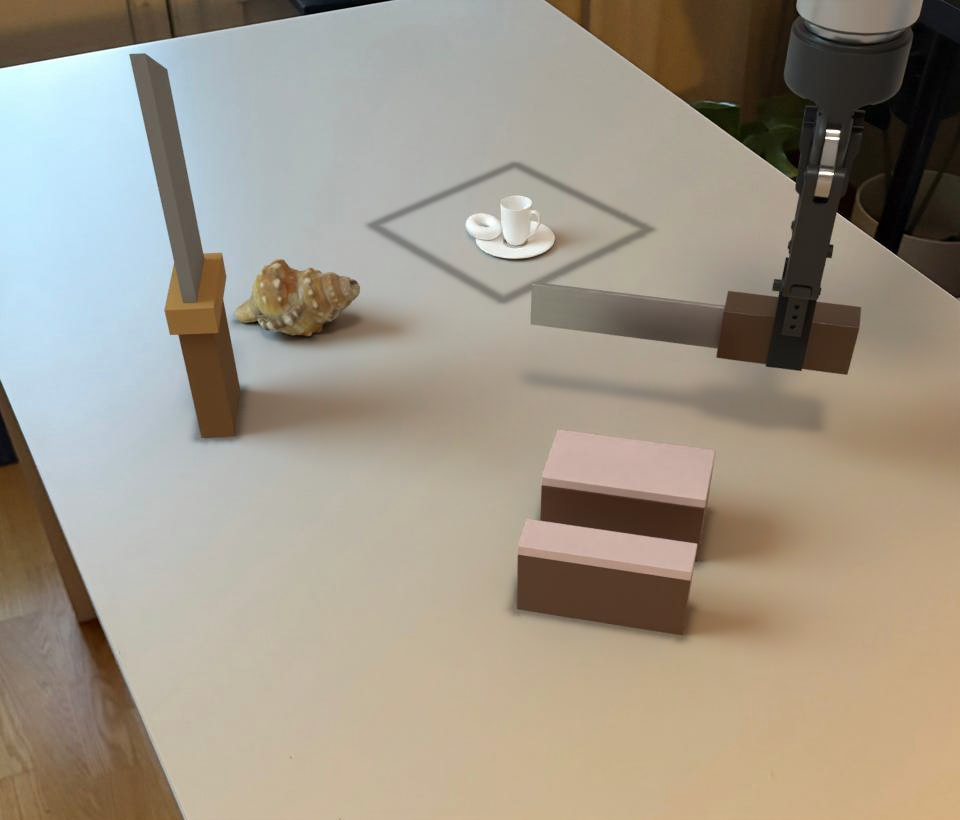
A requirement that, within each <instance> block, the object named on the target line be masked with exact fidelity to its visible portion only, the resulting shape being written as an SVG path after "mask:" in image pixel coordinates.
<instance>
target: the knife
mask: <svg viewBox="0 0 960 820" xmlns="http://www.w3.org/2000/svg"><path fill="white" fill-rule="evenodd" d="M128 56H129V59H130V63H131V69H132V73H133V78H134V82H135V87H136V93H137V97H138V103H139V106H140V112H141V115H142V120H143V125H144V129H145V134H146V139H147V142H148V148H149V153H150V157H151V162H152V167H153V171H154V175H155V179H156V180H155V181H156V185H157V190H158V193H159V199H160V203H161V209H162V212H163V217H164V222H165V226H166V230H167V237H168V240H169V244H170V250H171V254H172V258H173V266H172V270H171V276H170V281H169V286H168V290H167V295H166V300H165V305H164V308H163V309H164V315H165V319H166V324H167V326H168V328H167V329H168V333H169V335H170V336H178V340H179V344H180V348H181V353H182V358H183V362H184V366H185V371H186V376H187V379H188V384H189V388H190V389H189V390H190V392H191V398H192V402H193V406H194V411H195V415H196V420H197V424H198V429H199V433H200V438H201V439H210V438H212V439H213V438H232V437H234V438H235V437H236V431H237V422H238V413H239V405H240V397H241V385H240V381H239V374H238V370H237V365H236V359H235V354H234V353H235V352H234V348H233V344H232V339H231V333H230V328H229V322H228V318H227V312H226V307H225V301H224V297H225V291H226V283H227V271H226V268H225V267H226V266H225V262H224V255H223V252H207V253H205V252H204V250H203V249H204V248H203V245H202V240H201V239H202V238H201V234H200V230H199V229H200V228H199V225H198V224H199V223H198V218H197V214H196V209H195V204H194V199H193V194H192V190H191V183H190V178H189V174H188V173H189V172H188V168H187V164H186V157H185V153H184V147H183V143H182V138H181V132H180V127H179V123H178V122H179V121H178V117H177V113H176V107H175V106H176V105H175V102H174V97H173V91H172V87H171V81H170V76H169V72H168V68H166V67H165V66H164V65H163V64H161V63H160V62H158V61H157V60H155V59H153V58H152V57H151V56H149V55H148V54H147V53H145V52H144V53H143V52H141V53H139V52H138V53H129V54H128Z"/></svg>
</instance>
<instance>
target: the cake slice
mask: <svg viewBox="0 0 960 820" xmlns="http://www.w3.org/2000/svg"><path fill="white" fill-rule="evenodd" d="M518 540H519V541H518V544H517V559H516V560H517V565H516V567H517V569H516V570H517V571H516V577H517V578H516V581H517V582H516V609H517V610H520V611H527V612H533V613H537V614H538V613H539V614H545V615H552V616H559V617H563V618H570V619H575V620H576V619H577V620H583V621H590V622H594V623H595V622H596V623H602V624H608V625H613V626H614V625H615V626H620V627H627V628H633V629H639V630H647V631H652V632H657V633H665V634H669V635H670V634H671V635H678V636H682V635H683V632H684V627H685V623H686V619H687V618H686V617H687V612H688V607H689V601H690V596H691V595H690V594H691V587H692V582H693V576H694V569H695V564H696V562H695V557H696V551H697V544H695V543H688V542H682V541H675V540H668V539H661V538H654V537H647V536H641V535H634V534H627V533H620V532H613V531H606V530H600V529H593V528H586V527H579V526H572V525H565V524H559V523H552V522H545V521H540V520H538V519H531V518H527V519H526V520H525V523H524V526H523V529H522V532H521V535H520V538H519V539H518Z"/></svg>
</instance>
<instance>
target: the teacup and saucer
mask: <svg viewBox="0 0 960 820" xmlns="http://www.w3.org/2000/svg"><path fill="white" fill-rule="evenodd" d="M532 215H535V216H536V217H537V221H535V220H532ZM542 220H543V217H542V214H541V213H540V212H539V211H538V210H536V209H533V200H531V199H530V197H526V196H523V195H509V196H506V197H504V198H502V199H501V201H500V219H498V218H497V217H496V216H494V215H492V214H489V213H483V212H481V213H480V212H479V213H474V214H472V215H470V216H468V217H467V218H466V221H465V228H466V231H467V232H468V234H469V235H471V236H472V237H473V238H474V239H475V243H476V245H477V247H478V248H479V249H480V250H481V251H483V252H484V253H487V254H489V255H491V256H494V257H497V258H502V259H509V260H510V259H513V260H514V259H515V260H517V259H518V260H519V259H529V258H532V257H533V258H534V257H536V256H539V255H542V254H544V253H546V252H547V251H549V250H550V249H551V248H552V247H553V246H554V244H555V241H556V237H555V234H554V233H555V232H553V230H552V229H551V228H550V227H548V226H547V225H545V224H543V223H542ZM504 241H506V243H507V244H508V245H510V246H513V247H514V246H516V247H515V248H513V247H509V246H506V245H505V244H504ZM525 243H526V244H525ZM524 244H525V245H524ZM522 245H524V246H522ZM517 246H518V247H517ZM519 246H521V247H519Z"/></svg>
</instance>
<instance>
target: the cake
mask: <svg viewBox="0 0 960 820" xmlns="http://www.w3.org/2000/svg"><path fill="white" fill-rule="evenodd" d="M716 451H717V450H715V449H709V448H703V447H702V448H701V447H692V446H685V445H677V444H670V443H664V442H663V443H662V442H656V441H648V440H642V439H641V440H640V439H634V438H625V437H619V436H610V435H603V434H597V433H588V432H581V431H575V430H568V429H557V430H556V434H555V436H554V439H553V443H552V445H551V448H550V450H549V454H548V456H547V460H546V463H545V465H544V469H543V471H542V475H541V482H540V483H541V485H540V486H541V487H540V512H539V513H540V517H539V518H540V519H539V521H545V522H552V523H559V524H565V525H572V526H579V527H586V528H593V529H600V530H606V531H613V532H620V533H627V534H634V535H641V536H647V537H654V538H661V539H668V540H675V541H682V542H688V543H695V544H697V551H696V557H695V563H696V562H697V560H698V556H699V550H700V544H701V541H702V536H703V531H704V525H705V520H706V514H707V509H708V502H709V498H710V497H709V496H710V490H711V485H712V477H713V471H714V466H715V465H714V464H715V460H716V459H715V458H716Z"/></svg>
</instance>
